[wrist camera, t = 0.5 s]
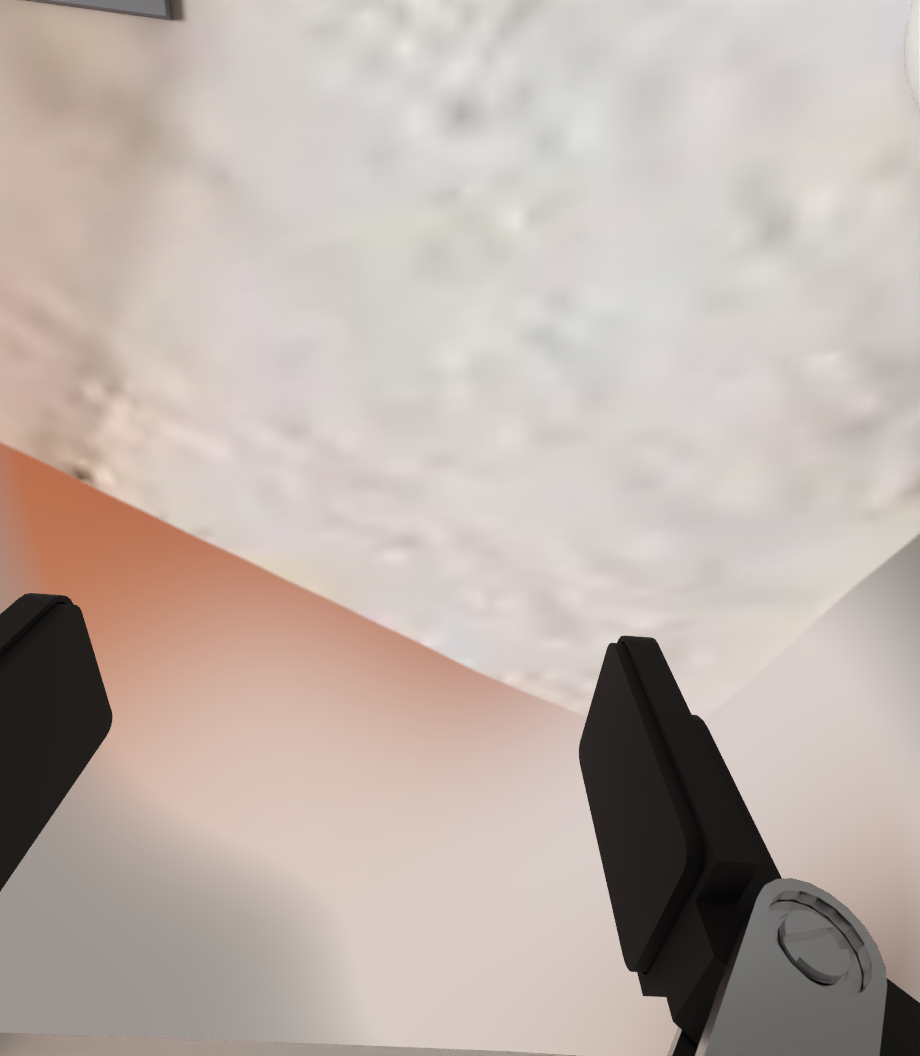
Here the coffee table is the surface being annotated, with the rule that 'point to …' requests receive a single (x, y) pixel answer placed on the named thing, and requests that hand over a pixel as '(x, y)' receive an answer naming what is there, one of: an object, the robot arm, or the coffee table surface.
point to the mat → (121, 6)
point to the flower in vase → (913, 51)
